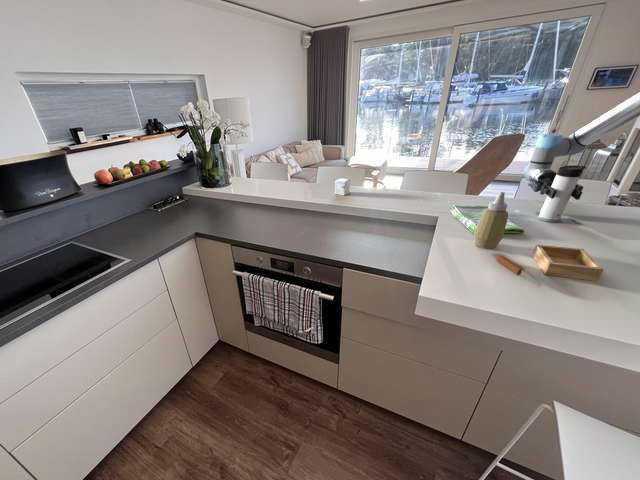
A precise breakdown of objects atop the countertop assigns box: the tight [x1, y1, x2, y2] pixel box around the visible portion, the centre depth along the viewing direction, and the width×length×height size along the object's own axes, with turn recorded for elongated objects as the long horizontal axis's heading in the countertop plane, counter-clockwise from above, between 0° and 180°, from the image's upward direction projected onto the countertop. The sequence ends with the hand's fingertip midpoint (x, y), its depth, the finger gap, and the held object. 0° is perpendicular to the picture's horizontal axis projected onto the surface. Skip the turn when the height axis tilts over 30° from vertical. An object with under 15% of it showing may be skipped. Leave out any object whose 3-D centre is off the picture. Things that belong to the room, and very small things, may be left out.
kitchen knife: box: [495, 255, 542, 288], centre depth 80 cm, size 16×1×2 cm, turn 3°
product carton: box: [334, 177, 351, 196], centre depth 155 cm, size 6×6×7 cm
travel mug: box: [537, 165, 587, 223], centre depth 105 cm, size 6×7×20 cm
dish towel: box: [449, 204, 525, 235], centre depth 111 cm, size 17×23×4 cm
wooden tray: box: [531, 244, 605, 282], centre depth 81 cm, size 12×11×4 cm
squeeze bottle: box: [473, 191, 509, 250], centre depth 91 cm, size 8×8×18 cm
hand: (566, 195), depth 100 cm, fingers closed on travel mug, 6 cm apart
